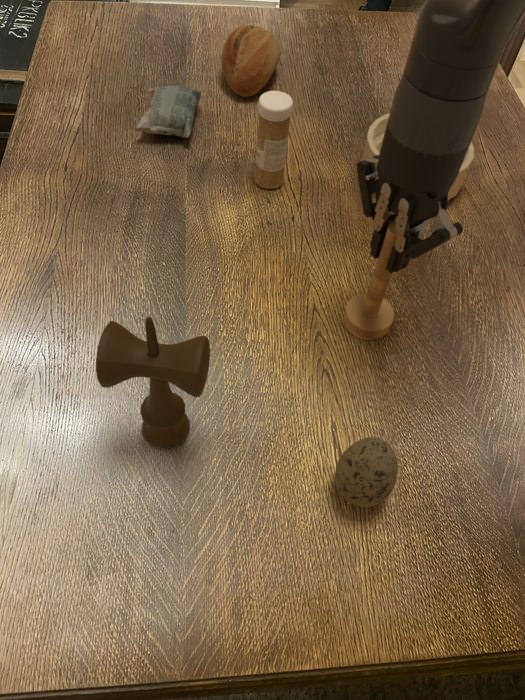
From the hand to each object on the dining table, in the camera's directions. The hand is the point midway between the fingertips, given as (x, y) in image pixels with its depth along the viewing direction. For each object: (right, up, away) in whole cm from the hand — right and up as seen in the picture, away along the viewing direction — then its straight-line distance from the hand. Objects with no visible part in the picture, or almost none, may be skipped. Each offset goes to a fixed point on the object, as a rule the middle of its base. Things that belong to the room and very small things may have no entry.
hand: (386, 260), depth 67 cm
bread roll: (-16, +37, +39) cm, 56 cm away
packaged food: (-29, +26, +30) cm, 49 cm away
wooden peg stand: (-1, -6, +9) cm, 11 cm away
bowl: (+9, +17, +26) cm, 32 cm away
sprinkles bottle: (-13, +15, +23) cm, 31 cm away
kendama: (-24, -19, -1) cm, 31 cm away
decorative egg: (-4, -25, -4) cm, 25 cm away
